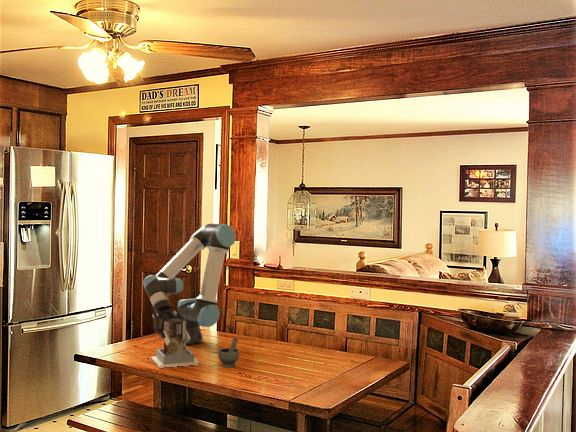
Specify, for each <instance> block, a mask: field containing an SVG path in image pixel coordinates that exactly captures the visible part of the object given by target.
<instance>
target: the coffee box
mask: <svg viewBox="0 0 576 432" xmlns="http://www.w3.org/2000/svg"><path fill="white" fill-rule="evenodd" d="M163 330H165V331H166V333H167V336H168V338H169V340H170V343H169V344H168V345H166V343H165V341H164V340H163V349H164V355H165V356H171V355H183V354H186V348H187V345H186V320H183V319H167V320H166V321H164V327H163Z"/></svg>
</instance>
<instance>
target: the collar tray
mask: <svg viewBox="0 0 576 432" xmlns="http://www.w3.org/2000/svg"><path fill="white" fill-rule="evenodd" d="M155 352H156V353H155V354H156V355H154V356H153V355H151V358H152V360H153V361H154V362H155V363H156V364H157V365H156V364H155V363H154V362H153V361H152V360H151V361H152V362H153V363H154V364H155V365H156V367H157V366H158V367H159V368H163V369H165V368H164V367H174V368H178V367H177V366H185V367H189V366H188V365H196V366H200V361H198V359H196V358H195V353H193V352H192V351H191V350H190V349H189V348H188V347H186V354H183V355H171V356H165V355H164V348H155ZM151 358H150V359H151ZM158 367H157V368H158ZM159 368H158V369H159Z"/></svg>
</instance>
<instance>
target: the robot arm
mask: <svg viewBox="0 0 576 432" xmlns="http://www.w3.org/2000/svg"><path fill="white" fill-rule="evenodd" d="M236 238H237V237H236V232H235V229H234V228H233V227H232V226H231V225H229V224H224V223H207V224H204V225H203V226H202V227H200V228H199V229H198V230H196V231H195V232H194V233H193V234H192V235H191V237H189V241H188V242H187V243H185V244H184V246H182V248H181V249H180V250H179V251H178V252H176V255H174V256H173V257H172V258H170V260H169V261H168V262H167V263H165V264H166V265H164V266H163V267H162V268H161V269H160V270H159V271H158V273H156V274H152V275H151V274H150V275H148V276H146V277H145V278H144V279H143V280H142V285H143V287H144V291H145V292H146V294H147V297H148V299H149V301H150V303H151V305H152V307H153V309H154V312H153V313H152V315H151V318H152V320H153V321H152V322H153V329H154V334H158V335H160V337H161V338H162V340H163V342H164V341H165V343H166V345H168V344H169V343H170V340H169V338H168V336H167V333H166V331H165V330H164V322H165V321H166V320H167V319H183V320H186V344H191V345H194V344H193V343H199V344H201V343H200V342H202V341H203V340H204V337H203V335H202V331H201V327H204V328H210V327H213V326H214V325H215V324H217V323H218V321H219V318H220V317H221V316H220V315H221V312H220V308H219V307H218V300H217V294H218V289H219V284H220V279H221V276H222V270H223V265H224V260H225V255H226V253H228V252H229V251H230V247H231V246H233V245H234V244H235V242H236ZM206 248H207V250H208V253H207V259H206V264H205V269H204V271H203V272H204V273H203V277H202V283H201V286H200V293H199V295H198V296H197V297H195V298H188V299H187V298H186V299H180V300H178V302H177V309H176V310H173V309H172V307H171V304H170V302H169V300H168V297H167V296H166V295H173V294H175V295H176V294H181V293H182V291H183V290H184V283H183V280H182V279H181V278H177V277H176V276H177V275H178V274H179V273H180V272H181V271H182V269H184V268H185V266H186V265H188V263H189V262H190V261H191V260H192V259H193V258H195V256H197V254H198V253H199V252H200V251H204V249H206ZM159 319H160V320H159ZM202 343H203V342H202Z"/></svg>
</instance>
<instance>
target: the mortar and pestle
mask: <svg viewBox="0 0 576 432" xmlns="http://www.w3.org/2000/svg"><path fill="white" fill-rule="evenodd" d="M238 341H239V338H236V337H232V341H231V343H230V347H226V348H221V349H218V351H217V352H218V353H217V354H218V355H217V356H218V359H219V361H220V362H221V367H223V368H233V367H236V362H237V361H238V360H239V357H240V349H237V344H238Z"/></svg>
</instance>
